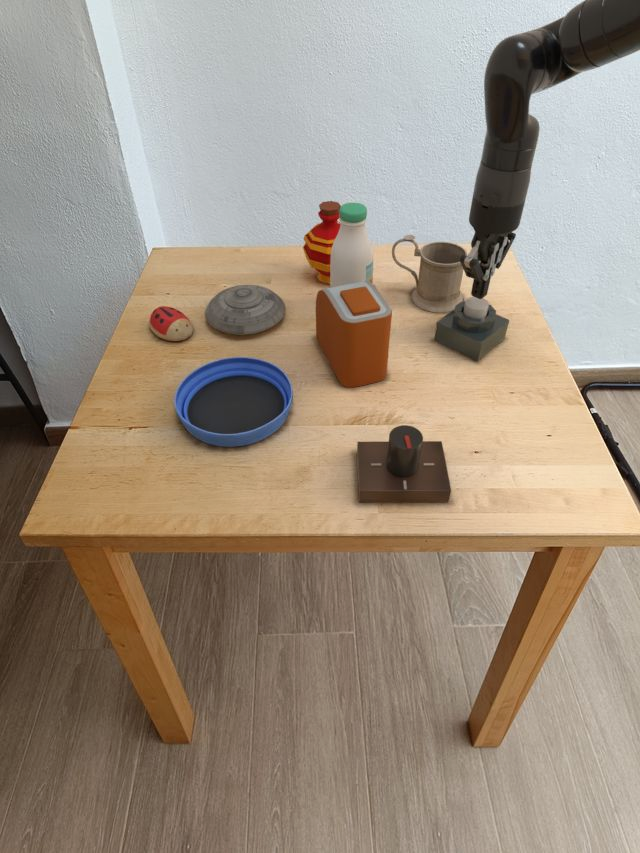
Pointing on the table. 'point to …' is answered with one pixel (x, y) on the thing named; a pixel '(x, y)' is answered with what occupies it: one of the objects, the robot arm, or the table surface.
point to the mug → (436, 275)
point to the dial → (404, 450)
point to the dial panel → (391, 488)
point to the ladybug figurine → (170, 324)
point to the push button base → (471, 332)
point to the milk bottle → (351, 248)
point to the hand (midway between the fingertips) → (478, 295)
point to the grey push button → (475, 308)
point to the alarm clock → (354, 332)
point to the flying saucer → (245, 310)
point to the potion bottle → (323, 240)
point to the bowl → (234, 401)
